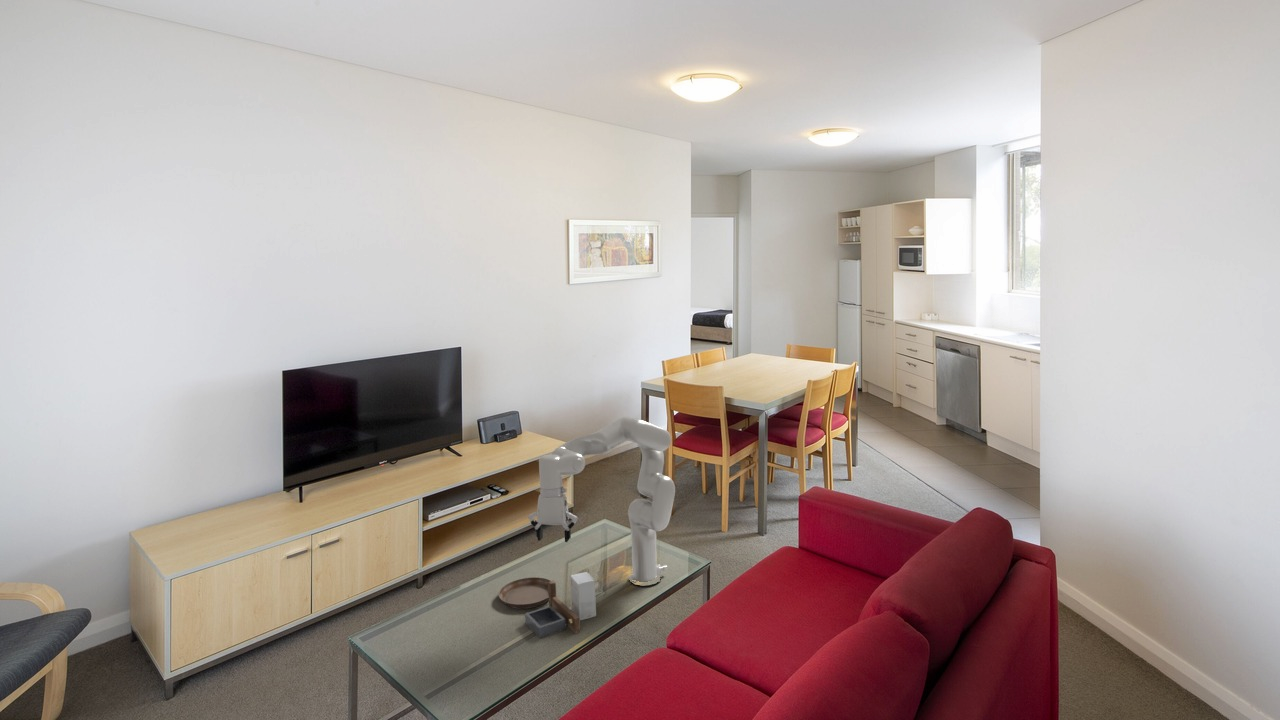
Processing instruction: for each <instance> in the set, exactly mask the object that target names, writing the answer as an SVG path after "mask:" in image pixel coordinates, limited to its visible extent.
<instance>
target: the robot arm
mask: <svg viewBox="0 0 1280 720" xmlns="http://www.w3.org/2000/svg"><path fill="white" fill-rule="evenodd" d="M626 442H633V443H635V444H637V446H638V447H639V450H640V453H641V464H640V469H639V474H638V480H637V486H636V487H637V488H636V489H637V491H638V492H639V493H640V494H641V495H643V496H644V497H647V498H650V499H652V500H649V499H645V498H635V499H634V500H633V501H631V503H630V504H629V507H628V508H627V509H628V510H627V515H628V520H629V525H630V532H631V535H630V536H631V565H632V570H631V571H632V572H631V573H630V574H629V575H628V581H629V580H630V581H631V582H634V581H632V580H636V581H639V582H648V581H652V580H654V579H655V578H656V577H657V575H660V574H661V573H662V572H664V571H667V570H668V569H669V567H668V565H667V564H664V565H661V564H659V563H658V552H657V532H661V531H663V530H665V529H667V526H669V523H670V520H671V515H672V511H673V505H674V500H675V495H676V486H675V482H674V481H673V479H672V478H671V477H669V476H667V475H664V474H663V472H664V465H665V455H664V451H666V450H668V448H669V447H670V446H671V443H672V436H671V434H670V432H669V431H668V430H667V429H665V428H662V427H660V426H657V425H656V424H653V423H650V422H647V421H645V420H643V419H639V418H634V417H630V416H621V417H620V418H618V419H616V420H614V421H612V422H611V423H609V424H607V425H606V426H604V427H603V428H600V429H599V430H597V431H596V432H593V433H588V434H585V435H582V436H578V437H575V438H573V439H570V440H568V441H566V442H565V443H563V444H561V445H559V446H558V447H557V448H555V449H554V450H553V451H552V453H551V454H545V455H542V456H540V458H539V460H538V470H539V472H538V473H539V490H540V491H539V493H540V494H539V495H538V499H537V508H536V511H533V512H532V513H530V514H529V515H528V516H527V517H528V520H529V521H530V524H531V525H532V526H533V527H534V529H535V531H536V533H535V534H536V538H537V541H538V542H539V541H541V540H542V539H543V536H544V534H543V533H544V531H543V526H542V525H545V526H547V525H548V526H562V527H563V528H564V543H568V542H569V541H570V540H571V536H572V535H571V532H572V531H571V528H573V527H574V526H575V524H576V523H577V521H578V518H579V517H578V515H577V516H576V515H575V514H573V513H572V512H569V507H568V500H567V496H566V494H565V493H567V491H568V489H567V488H565V487H564V485H563V476H571V475H572V476H573V475H577V474H580V473H582V471H584V469H585V467H586V460H585V456H597V455H599V456H600V455H605V454H608V453H610V452H611V451H613V450H614V449H616V448H617V447H620V446H621V445H623V444H624V443H626ZM535 517H536V519H537V520H536V519H535ZM569 519H570V520H571V522H569ZM631 574H633V575H631ZM634 583H636V582H634Z"/></svg>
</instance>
